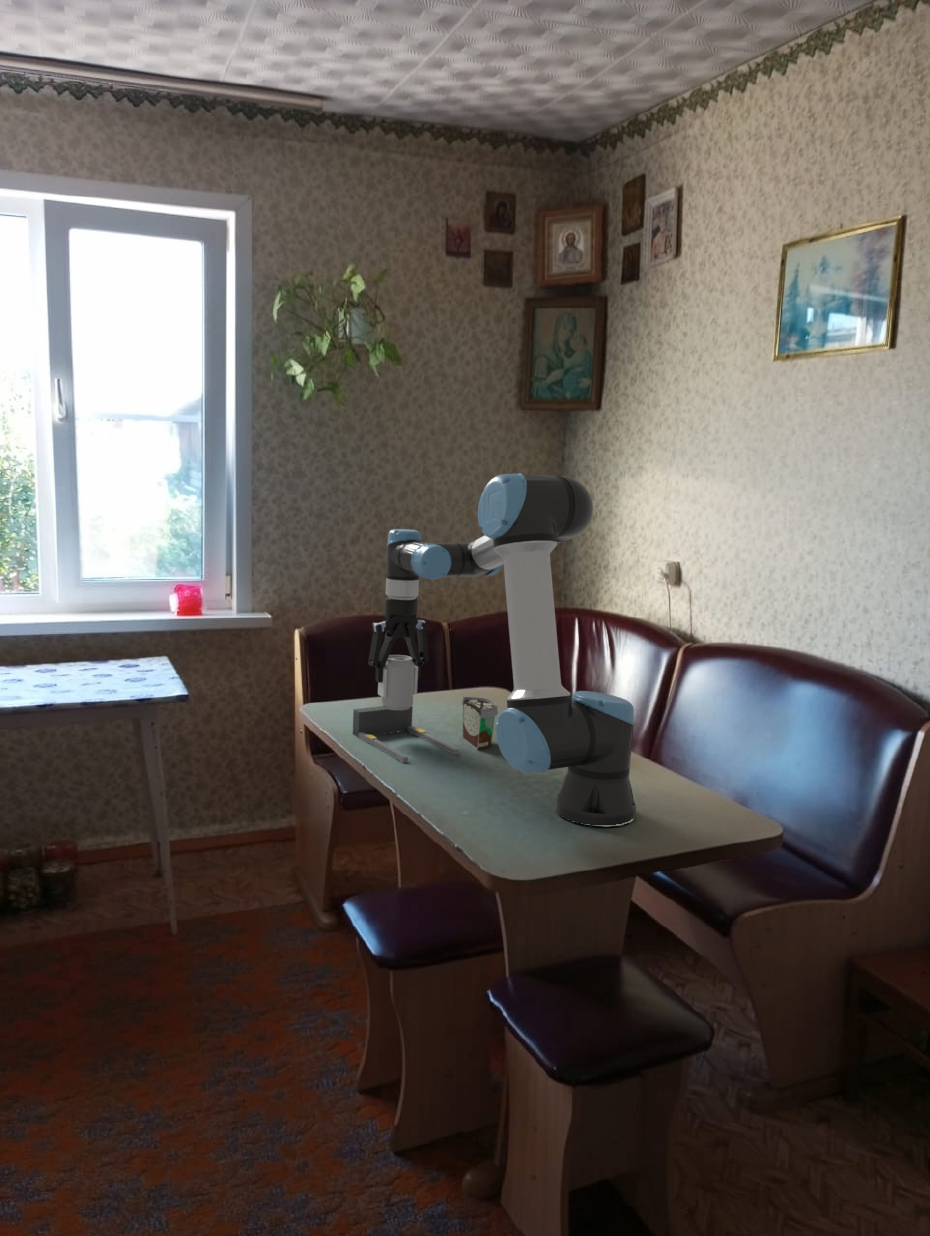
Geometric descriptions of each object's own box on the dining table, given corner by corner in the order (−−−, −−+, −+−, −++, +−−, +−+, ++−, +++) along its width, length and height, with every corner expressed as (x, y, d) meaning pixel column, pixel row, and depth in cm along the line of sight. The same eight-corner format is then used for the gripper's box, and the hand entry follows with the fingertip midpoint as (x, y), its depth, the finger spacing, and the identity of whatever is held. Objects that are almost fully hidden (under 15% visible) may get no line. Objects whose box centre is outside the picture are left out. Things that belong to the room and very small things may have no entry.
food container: (504, 750, 220) (507, 708, 219) (479, 752, 218) (482, 709, 217) (483, 735, 232) (486, 695, 230) (460, 736, 229) (462, 696, 228)
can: (415, 704, 227) (417, 654, 225) (410, 712, 219) (412, 661, 217) (383, 701, 227) (386, 652, 225) (377, 709, 220) (380, 658, 218)
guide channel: (459, 754, 215) (460, 728, 215) (402, 762, 207) (403, 736, 206) (405, 727, 235) (406, 703, 234) (352, 733, 227) (353, 709, 226)
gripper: (431, 593, 228) (426, 686, 232) (354, 596, 217) (350, 694, 220) (448, 598, 222) (443, 694, 225) (369, 601, 210) (366, 702, 214)
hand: (397, 694), depth 223 cm, fingers closed on can, 7 cm apart
